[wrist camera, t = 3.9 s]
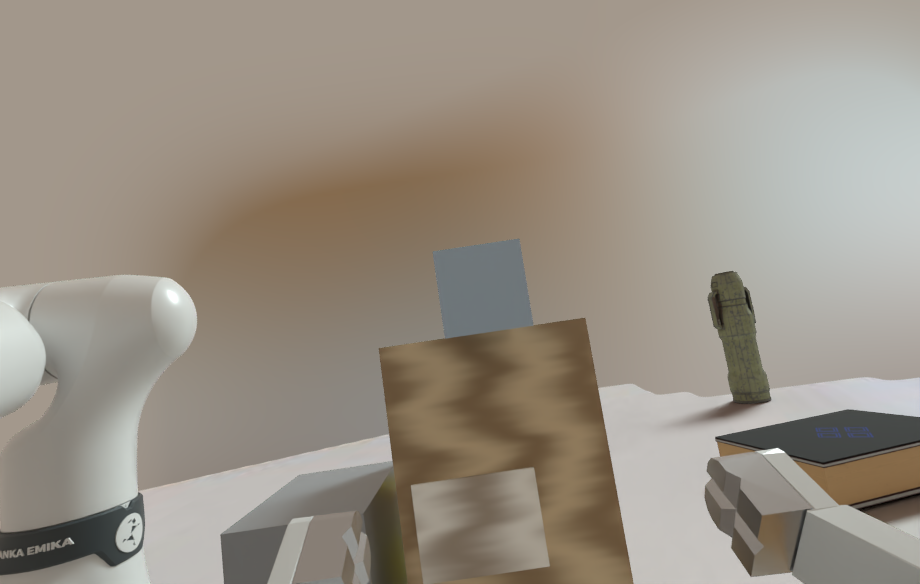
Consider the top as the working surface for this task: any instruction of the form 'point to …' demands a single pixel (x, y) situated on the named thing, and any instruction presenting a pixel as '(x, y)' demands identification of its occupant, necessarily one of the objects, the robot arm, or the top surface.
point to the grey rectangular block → (315, 494)
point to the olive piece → (738, 338)
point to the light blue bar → (482, 288)
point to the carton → (503, 459)
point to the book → (845, 453)
